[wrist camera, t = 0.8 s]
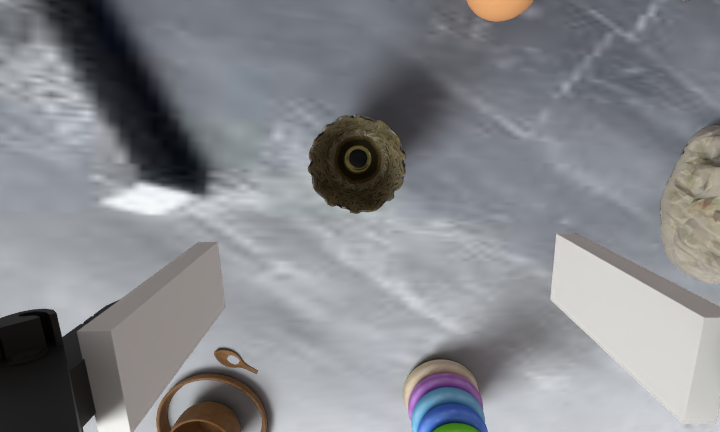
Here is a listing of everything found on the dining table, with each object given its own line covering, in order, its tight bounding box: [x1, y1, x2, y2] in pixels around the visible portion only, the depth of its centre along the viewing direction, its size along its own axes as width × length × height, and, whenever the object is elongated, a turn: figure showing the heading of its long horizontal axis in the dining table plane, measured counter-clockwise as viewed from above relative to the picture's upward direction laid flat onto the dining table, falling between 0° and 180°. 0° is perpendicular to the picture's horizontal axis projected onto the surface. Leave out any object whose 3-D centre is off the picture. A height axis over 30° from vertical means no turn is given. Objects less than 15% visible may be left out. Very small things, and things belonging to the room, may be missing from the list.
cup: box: [308, 115, 405, 214], centre depth 33 cm, size 8×7×8 cm
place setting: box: [156, 349, 267, 432], centre depth 40 cm, size 18×20×6 cm
